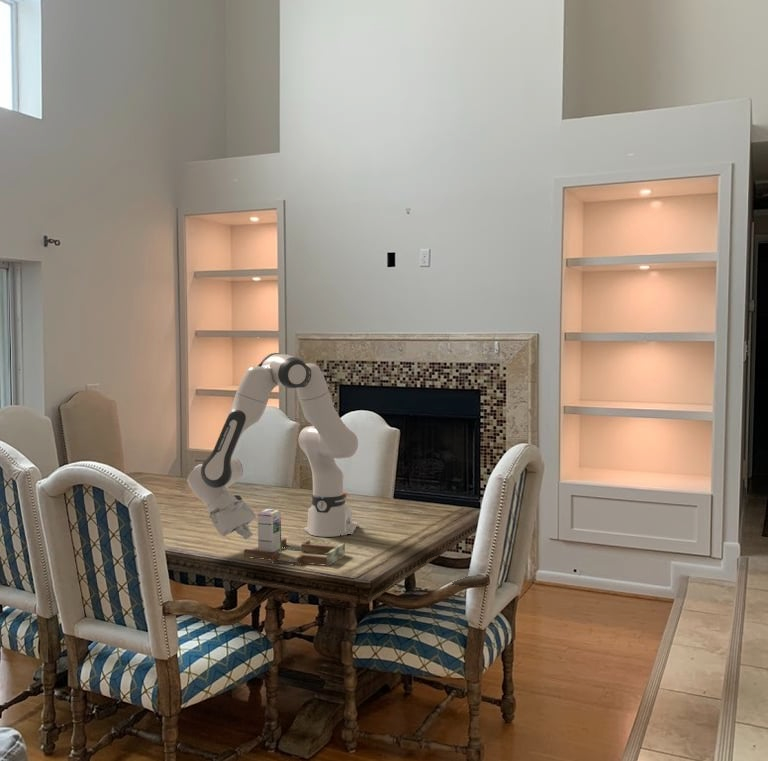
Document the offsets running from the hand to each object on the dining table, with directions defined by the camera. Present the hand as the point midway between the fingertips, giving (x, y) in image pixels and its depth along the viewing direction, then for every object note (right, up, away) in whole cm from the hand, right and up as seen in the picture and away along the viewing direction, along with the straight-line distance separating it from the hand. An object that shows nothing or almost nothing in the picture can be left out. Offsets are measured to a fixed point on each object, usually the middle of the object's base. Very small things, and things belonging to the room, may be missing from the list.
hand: (249, 537), depth 270 cm
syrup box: (+7, -5, -2) cm, 9 cm away
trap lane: (+16, -5, -4) cm, 17 cm away
